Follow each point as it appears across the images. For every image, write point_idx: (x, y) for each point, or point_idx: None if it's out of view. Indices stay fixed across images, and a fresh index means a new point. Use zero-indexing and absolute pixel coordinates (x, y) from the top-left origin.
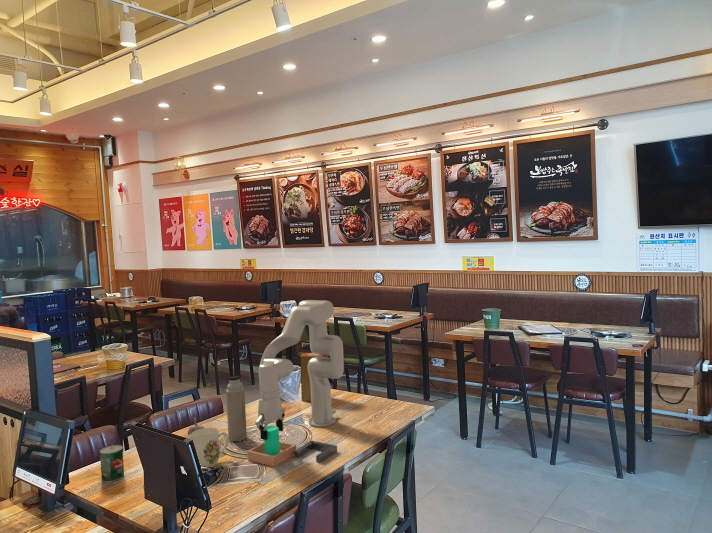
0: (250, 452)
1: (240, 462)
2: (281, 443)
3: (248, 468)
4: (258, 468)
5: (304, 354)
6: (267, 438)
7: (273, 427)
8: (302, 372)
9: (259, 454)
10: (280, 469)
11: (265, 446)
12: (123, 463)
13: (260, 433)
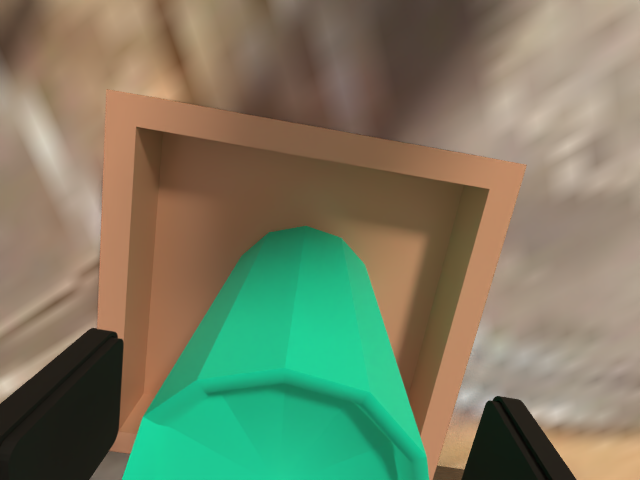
0: (106, 146)
1: (70, 60)
2: (443, 341)
3: (5, 215)
4: (46, 297)
5: None
6: (103, 450)
7: (389, 475)
8: None
9: (100, 279)
10: (108, 456)
11: (219, 292)
12: None
13: (32, 381)
